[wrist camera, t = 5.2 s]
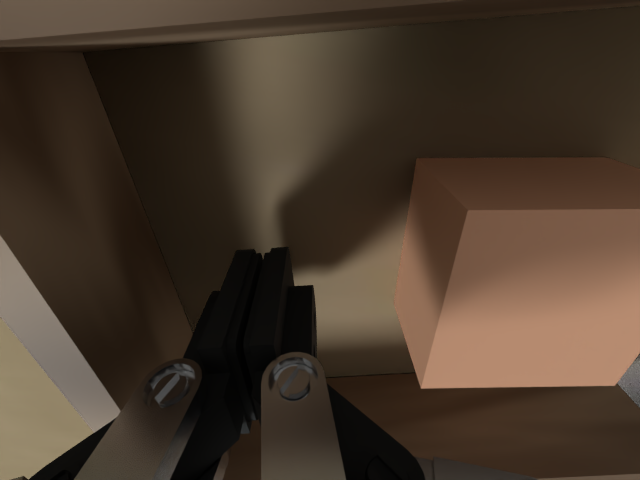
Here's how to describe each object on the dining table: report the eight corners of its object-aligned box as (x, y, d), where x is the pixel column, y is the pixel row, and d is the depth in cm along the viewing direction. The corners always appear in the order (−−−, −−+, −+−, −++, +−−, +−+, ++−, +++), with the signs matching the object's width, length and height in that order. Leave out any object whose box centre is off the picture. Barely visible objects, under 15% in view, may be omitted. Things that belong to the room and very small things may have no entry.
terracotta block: (414, 156, 10) (467, 210, 7) (601, 155, 10) (751, 208, 7) (392, 300, 13) (421, 388, 10) (536, 298, 13) (614, 386, 10)
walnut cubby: (11, -2, 8) (-302, -58, 4) (852, -76, 7) (1490, -229, 3) (195, 400, 16) (157, 511, 12) (588, 378, 16) (679, 486, 12)
